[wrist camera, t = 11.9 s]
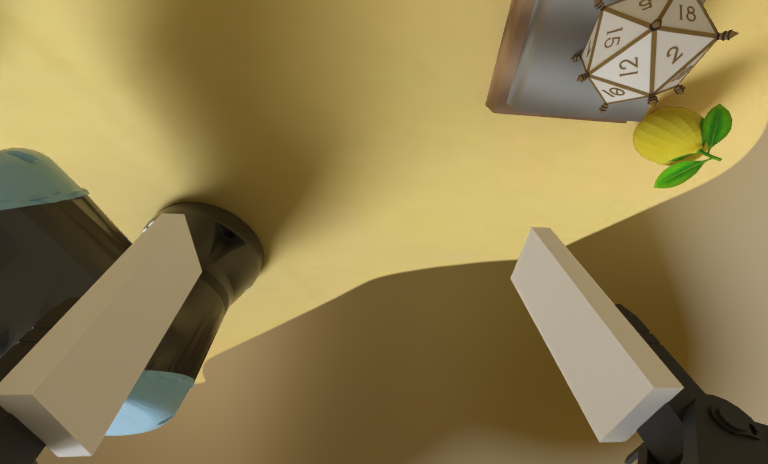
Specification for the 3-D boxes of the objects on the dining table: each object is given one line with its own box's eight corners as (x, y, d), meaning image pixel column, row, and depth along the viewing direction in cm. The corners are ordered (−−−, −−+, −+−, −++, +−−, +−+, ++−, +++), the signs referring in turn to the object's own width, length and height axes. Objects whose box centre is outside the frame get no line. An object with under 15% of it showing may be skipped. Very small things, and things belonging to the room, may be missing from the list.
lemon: (614, 161, 39) (677, 203, 31) (610, 117, 36) (678, 151, 28) (676, 136, 38) (759, 174, 30) (677, 87, 35) (770, 115, 27)
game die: (606, 18, 29) (776, -21, 21) (582, 119, 31) (729, 117, 23) (554, -20, 24) (753, -90, 16) (529, 104, 26) (695, 95, 18)
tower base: (609, 114, 36) (645, 133, 31) (485, 105, 35) (503, 122, 30) (686, -51, 28) (752, -62, 23) (529, -70, 27) (562, -84, 22)
